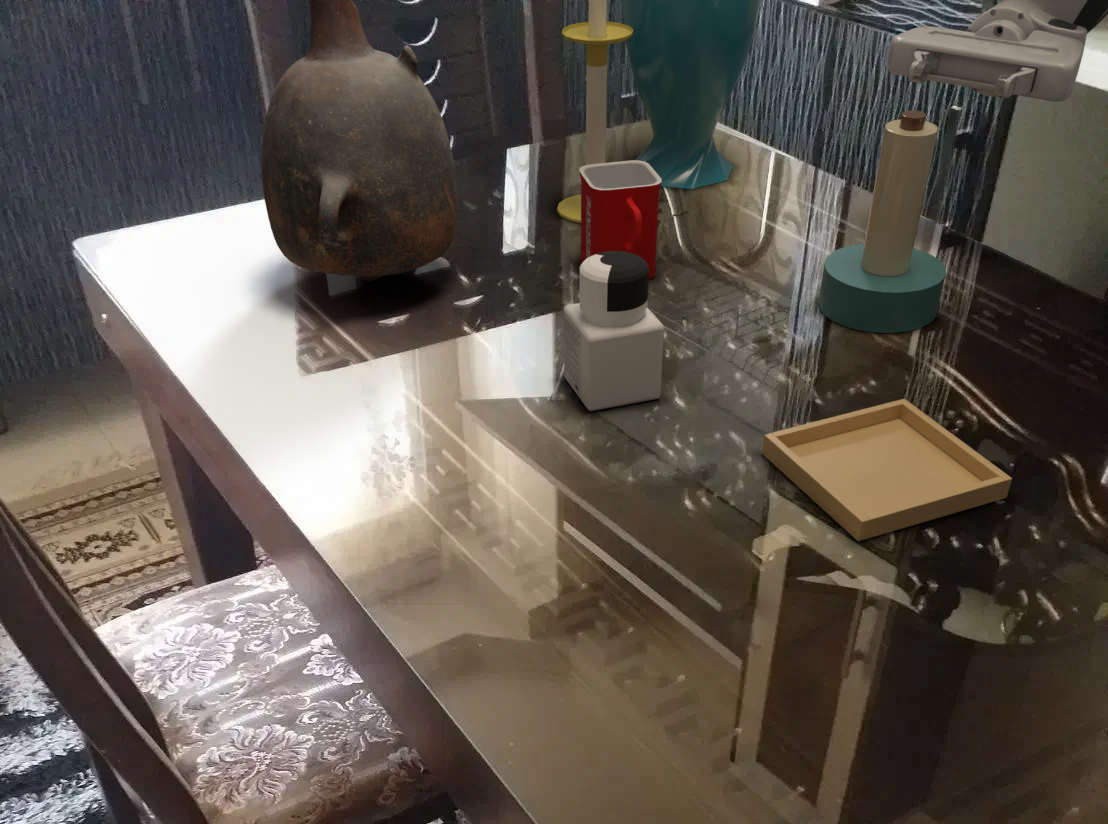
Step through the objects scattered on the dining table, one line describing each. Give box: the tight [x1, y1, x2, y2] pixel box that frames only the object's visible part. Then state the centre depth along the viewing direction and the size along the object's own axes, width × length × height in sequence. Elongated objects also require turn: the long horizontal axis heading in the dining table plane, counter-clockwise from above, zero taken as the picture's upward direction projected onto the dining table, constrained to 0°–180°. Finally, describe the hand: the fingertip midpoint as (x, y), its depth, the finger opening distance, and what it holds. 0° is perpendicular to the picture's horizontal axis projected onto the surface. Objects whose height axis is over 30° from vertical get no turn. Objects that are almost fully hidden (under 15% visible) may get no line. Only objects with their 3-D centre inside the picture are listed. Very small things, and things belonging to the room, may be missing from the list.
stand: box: [817, 243, 947, 334], centre depth 127 cm, size 13×13×4 cm
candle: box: [556, 0, 633, 224], centre depth 137 cm, size 10×10×38 cm
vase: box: [621, 0, 761, 190], centre depth 149 cm, size 17×17×30 cm
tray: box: [761, 398, 1013, 542], centre depth 103 cm, size 16×16×2 cm
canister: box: [861, 110, 939, 276], centre depth 120 cm, size 5×5×15 cm
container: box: [563, 251, 665, 412], centre depth 112 cm, size 8×8×13 cm
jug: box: [260, 0, 459, 283], centre depth 125 cm, size 24×21×30 cm
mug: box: [578, 159, 662, 280], centre depth 132 cm, size 12×8×11 cm
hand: (957, 81), depth 121 cm, fingers open, 8 cm apart
